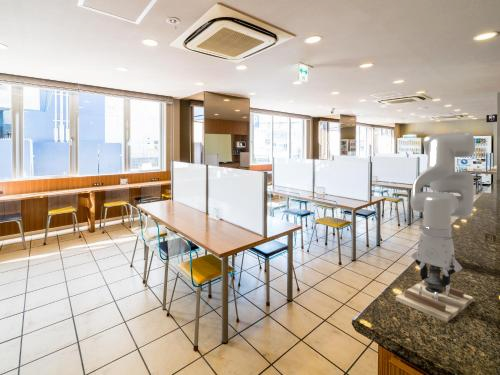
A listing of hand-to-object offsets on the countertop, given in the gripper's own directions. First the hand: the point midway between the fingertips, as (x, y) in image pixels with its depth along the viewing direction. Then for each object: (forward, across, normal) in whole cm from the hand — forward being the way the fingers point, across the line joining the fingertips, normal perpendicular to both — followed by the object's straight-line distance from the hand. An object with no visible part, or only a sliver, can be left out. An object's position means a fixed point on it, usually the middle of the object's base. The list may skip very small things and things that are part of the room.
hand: (434, 281), depth 94 cm
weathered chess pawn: (+3, 0, 0) cm, 3 cm away
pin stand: (+7, 0, 0) cm, 7 cm away
